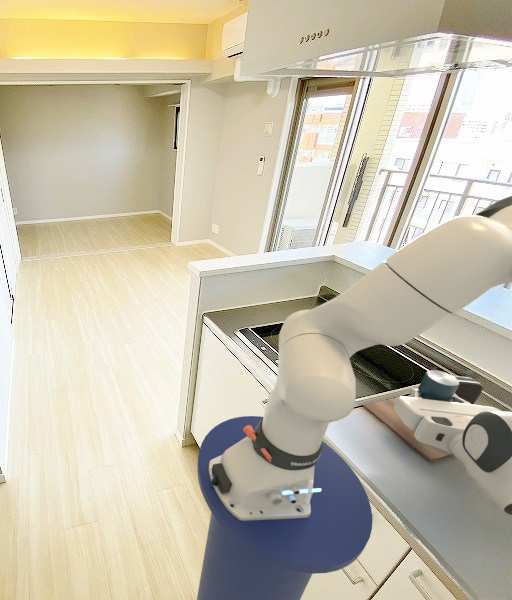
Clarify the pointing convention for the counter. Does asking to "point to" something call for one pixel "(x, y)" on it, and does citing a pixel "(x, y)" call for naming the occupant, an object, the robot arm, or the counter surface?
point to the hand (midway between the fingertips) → (430, 392)
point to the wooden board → (403, 428)
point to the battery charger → (468, 389)
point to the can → (438, 386)
